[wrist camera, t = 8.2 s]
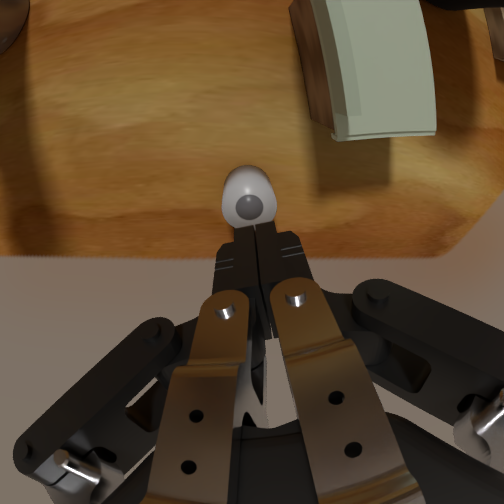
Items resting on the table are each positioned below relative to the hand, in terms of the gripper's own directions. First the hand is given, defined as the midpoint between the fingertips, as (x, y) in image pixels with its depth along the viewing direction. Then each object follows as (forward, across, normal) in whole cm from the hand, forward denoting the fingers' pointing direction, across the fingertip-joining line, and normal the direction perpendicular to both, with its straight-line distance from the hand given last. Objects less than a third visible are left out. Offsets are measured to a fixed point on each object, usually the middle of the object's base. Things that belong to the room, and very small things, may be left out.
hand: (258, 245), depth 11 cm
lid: (+12, -11, -8) cm, 18 cm away
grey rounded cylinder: (+18, +1, +4) cm, 19 cm away
